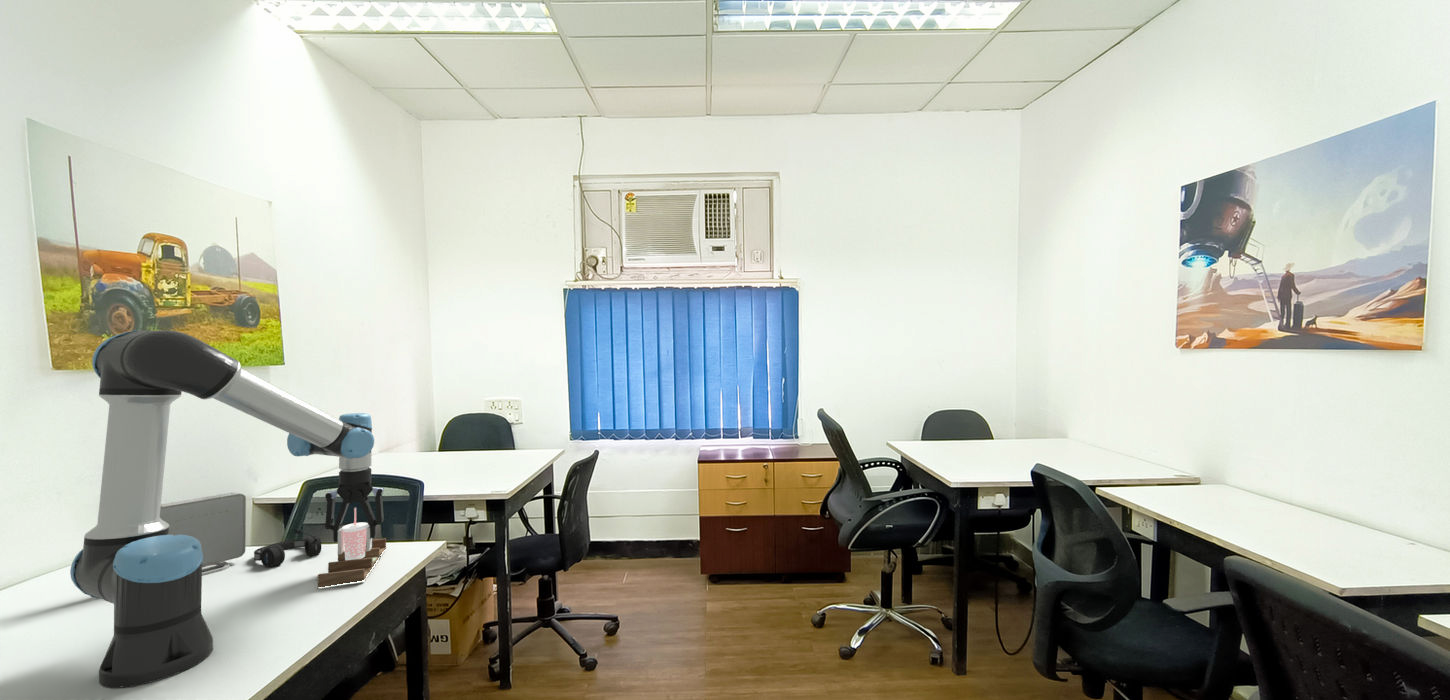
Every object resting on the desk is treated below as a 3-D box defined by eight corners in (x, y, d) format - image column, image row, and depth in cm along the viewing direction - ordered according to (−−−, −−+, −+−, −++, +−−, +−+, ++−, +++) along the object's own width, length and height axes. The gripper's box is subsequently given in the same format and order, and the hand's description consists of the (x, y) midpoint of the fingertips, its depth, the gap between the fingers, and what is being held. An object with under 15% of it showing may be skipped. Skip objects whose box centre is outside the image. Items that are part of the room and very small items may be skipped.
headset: (273, 535, 148) (245, 531, 158) (274, 570, 147) (246, 564, 158) (329, 522, 159) (299, 519, 170) (331, 555, 159) (301, 550, 169)
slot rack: (363, 582, 141) (363, 569, 141) (317, 589, 137) (317, 575, 137) (386, 549, 165) (386, 538, 165) (347, 554, 161) (347, 542, 161)
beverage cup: (346, 563, 147) (346, 512, 147) (338, 558, 150) (338, 508, 150) (371, 556, 151) (371, 507, 151) (363, 552, 155) (363, 503, 155)
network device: (114, 598, 132) (115, 516, 132) (106, 590, 136) (106, 511, 136) (248, 563, 153) (248, 493, 154) (236, 557, 158) (237, 489, 158)
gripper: (397, 463, 158) (396, 542, 158) (319, 468, 151) (318, 551, 151) (391, 468, 151) (391, 551, 151) (309, 474, 144) (309, 560, 144)
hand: (355, 551), depth 151 cm, fingers closed on beverage cup, 6 cm apart
